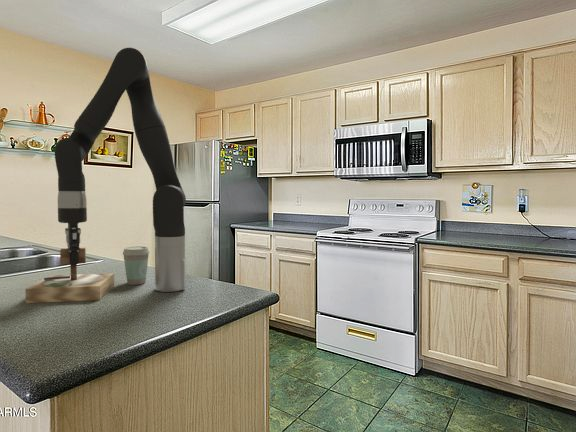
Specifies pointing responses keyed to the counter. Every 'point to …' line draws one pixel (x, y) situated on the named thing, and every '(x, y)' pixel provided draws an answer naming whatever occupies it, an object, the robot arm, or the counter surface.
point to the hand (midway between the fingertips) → (73, 263)
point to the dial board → (70, 288)
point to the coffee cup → (136, 264)
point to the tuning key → (66, 260)
